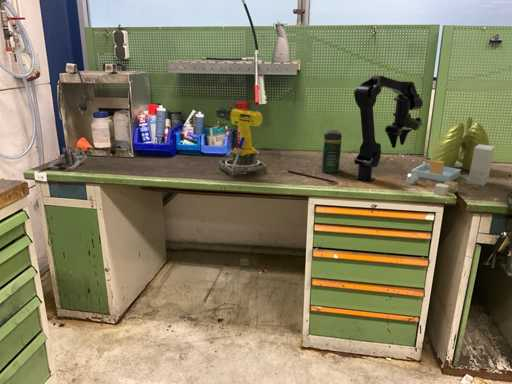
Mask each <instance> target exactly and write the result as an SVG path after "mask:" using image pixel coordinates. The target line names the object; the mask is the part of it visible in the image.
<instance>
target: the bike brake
mask: <svg viewBox="0 0 512 384" xmlns="http://www.w3.org/2000/svg"><path fill="white" fill-rule="evenodd" d="M62 151H63V154H60V155H59V154H58V155H57V157H58V159H56V160H55V161H53V162H51V163H50V164H49V165H48V166H47V167H46V168H43V169H39V170H38V173H41V172H44V171H46V170H61V171H63V170H69V171H73V170H75V168H77V167H78V166H79V165H80V164H81V163H82V162H86V161H87V159H88V156H87V155H85V150H84V149H83V148H81V154H79V155H77V154H76V151H75V149H73V150H72V151H70V155H69V150H68V149H66V148H62ZM70 157H71V158H70ZM70 159H71V160H70ZM64 161H65V164H66V165H69V164H70V163H71V162H72V164H73V165H72V166H68V167H64V166H58V164H60V163H63V162H64ZM55 165H57V166H55Z"/></svg>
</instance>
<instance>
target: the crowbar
mask: <svg viewBox="0 0 512 384" xmlns="http://www.w3.org/2000/svg"><path fill="white" fill-rule="evenodd" d="M286 171H287V173H289V174H293V175H298V176H302V177H306V178H309V179H310V178H311V179H315V180H319V181H324V182H326V183H327V184H328V185H334V186H335V185H338V184H339V183H338V181H336V180H332V179H327V178H324V177H320V176H315V175H312V174H311V175H310V174H306V173H302V172H298V171H293V170H290V169H287V168H286Z"/></svg>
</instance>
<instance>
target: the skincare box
mask: <svg viewBox="0 0 512 384" xmlns="http://www.w3.org/2000/svg"><path fill="white" fill-rule="evenodd" d="M495 149H496V146H495V145H490V146H489V145H481V144H479V145H478V146H476V147H475V148H474V153H473V158H472V164H471V169H470V170H469V174H468V178H467V179H468V180H467V184H470V185H475V186H481V187H485V186H486V184H488V182H489V177H490V172H491V168H492V163H493V158H494V154H495Z"/></svg>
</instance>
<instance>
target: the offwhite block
mask: <svg viewBox="0 0 512 384" xmlns="http://www.w3.org/2000/svg"><path fill="white" fill-rule="evenodd" d="M448 190H449V185H445V184H444V183H441V182H437V184H435V185H434V189H433V195H437V194H438V195H437V196H442V197H445V196H447V195H448V194H449V192H448ZM446 194H447V195H446Z"/></svg>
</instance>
